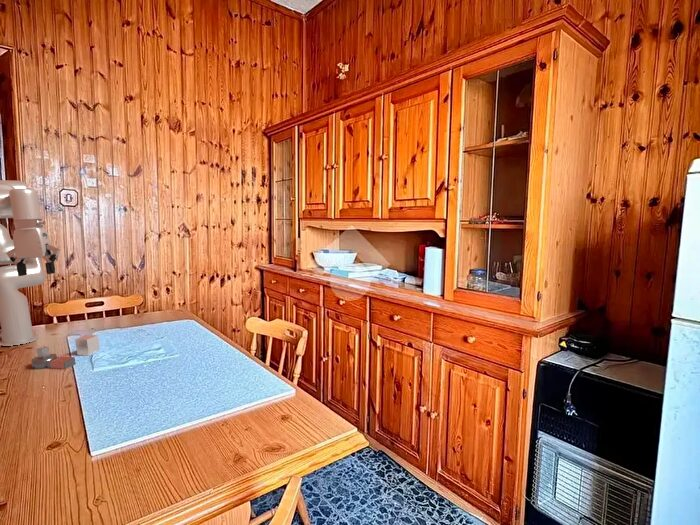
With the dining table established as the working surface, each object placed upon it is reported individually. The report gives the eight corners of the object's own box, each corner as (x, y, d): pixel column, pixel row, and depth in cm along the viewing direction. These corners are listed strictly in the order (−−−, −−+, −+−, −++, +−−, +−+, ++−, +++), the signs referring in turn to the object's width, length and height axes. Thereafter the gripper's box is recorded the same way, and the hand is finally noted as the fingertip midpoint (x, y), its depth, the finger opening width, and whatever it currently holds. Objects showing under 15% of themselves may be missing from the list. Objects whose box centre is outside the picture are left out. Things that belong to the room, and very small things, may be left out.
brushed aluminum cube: (77, 355, 147) (75, 339, 146) (88, 350, 152) (86, 334, 151) (88, 355, 146) (86, 339, 145) (100, 350, 151) (97, 335, 150)
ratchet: (79, 362, 140) (76, 345, 139) (61, 371, 133) (58, 352, 132) (46, 360, 143) (43, 343, 142) (27, 368, 136) (24, 351, 135)
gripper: (61, 223, 141) (69, 271, 143) (12, 226, 141) (20, 274, 143) (46, 224, 133) (54, 274, 136) (-7, 227, 133) (2, 278, 135)
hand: (37, 274), depth 139 cm, fingers open, 9 cm apart
